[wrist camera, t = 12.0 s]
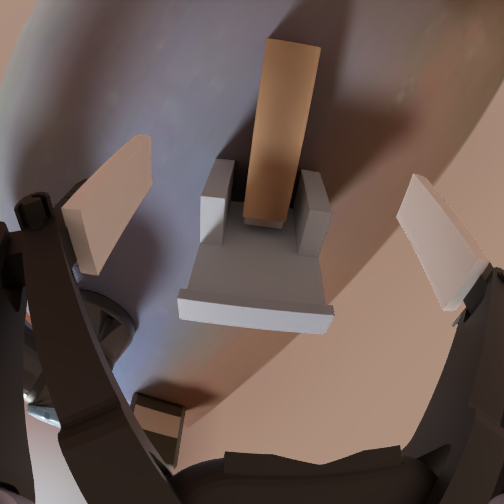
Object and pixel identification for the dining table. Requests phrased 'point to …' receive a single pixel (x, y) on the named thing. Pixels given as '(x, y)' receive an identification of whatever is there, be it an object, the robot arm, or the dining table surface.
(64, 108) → the dining table surface
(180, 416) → the bottle
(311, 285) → the grey u-shaped bracket
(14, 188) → the dining table surface
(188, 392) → the dining table surface
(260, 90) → the rail
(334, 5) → the dining table surface
